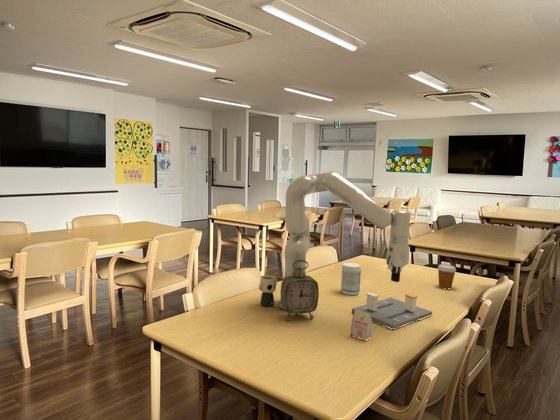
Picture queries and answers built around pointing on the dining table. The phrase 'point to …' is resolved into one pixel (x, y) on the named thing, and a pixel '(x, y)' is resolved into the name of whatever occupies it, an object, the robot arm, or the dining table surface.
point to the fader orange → (410, 302)
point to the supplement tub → (350, 278)
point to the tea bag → (361, 325)
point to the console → (393, 313)
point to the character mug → (267, 289)
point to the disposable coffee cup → (446, 275)
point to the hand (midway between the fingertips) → (395, 281)
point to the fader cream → (372, 301)
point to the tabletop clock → (299, 293)
